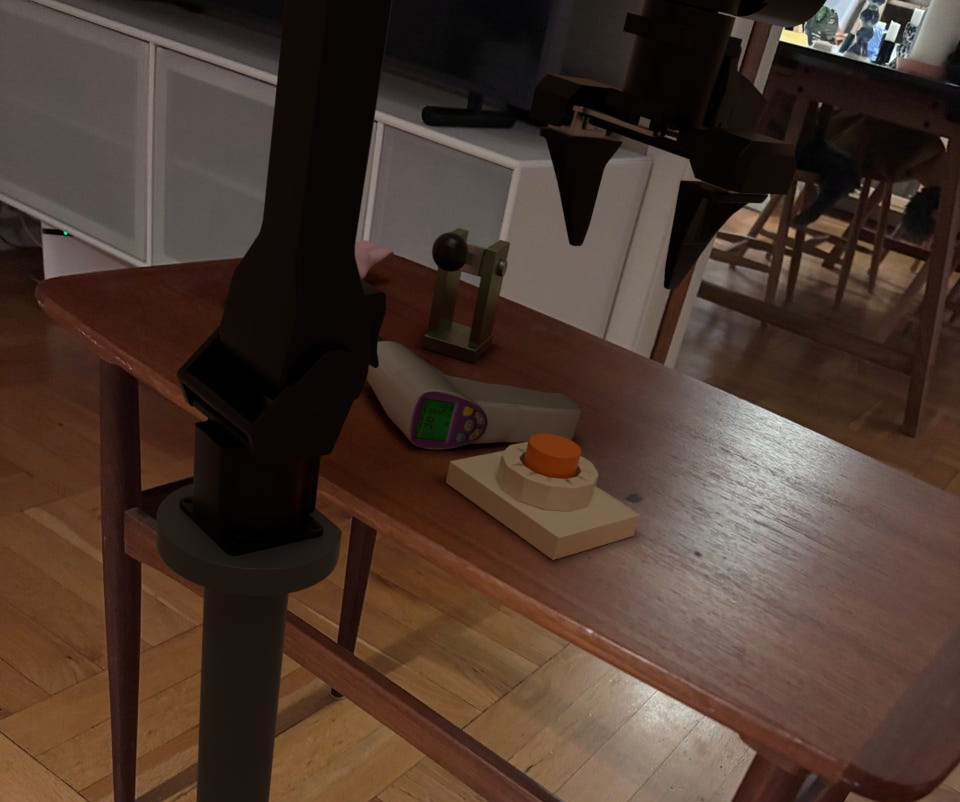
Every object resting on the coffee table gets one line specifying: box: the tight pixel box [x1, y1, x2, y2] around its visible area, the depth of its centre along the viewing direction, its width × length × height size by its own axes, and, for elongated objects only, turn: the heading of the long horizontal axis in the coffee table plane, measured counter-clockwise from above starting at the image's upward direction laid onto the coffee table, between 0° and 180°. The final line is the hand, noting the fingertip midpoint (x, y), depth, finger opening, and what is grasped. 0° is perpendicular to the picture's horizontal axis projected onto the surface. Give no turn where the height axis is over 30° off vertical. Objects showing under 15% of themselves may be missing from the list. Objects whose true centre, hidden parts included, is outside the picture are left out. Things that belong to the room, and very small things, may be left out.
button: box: [523, 434, 582, 479], centre depth 65 cm, size 4×4×2 cm
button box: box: [445, 442, 641, 561], centre depth 67 cm, size 8×11×4 cm
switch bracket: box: [422, 227, 511, 364], centre depth 89 cm, size 6×6×10 cm
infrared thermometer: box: [366, 340, 583, 450], centre depth 77 cm, size 5×12×15 cm
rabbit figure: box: [355, 240, 395, 281], centre depth 98 cm, size 6×6×15 cm
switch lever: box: [431, 231, 487, 278], centre depth 83 cm, size 11×3×3 cm, turn 163°
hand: (621, 266), depth 69 cm, fingers open, 9 cm apart
